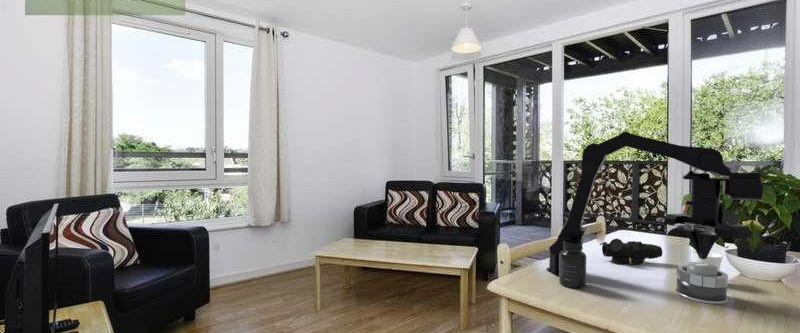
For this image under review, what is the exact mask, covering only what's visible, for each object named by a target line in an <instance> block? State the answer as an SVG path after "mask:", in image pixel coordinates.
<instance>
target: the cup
mask: <svg viewBox="0 0 800 333" xmlns="http://www.w3.org/2000/svg"><path fill="white" fill-rule="evenodd" d="M691 254H692V259H693V260H692V262H700V263H706V264H710V265H714V266H716V267H717V270H719V271H720V269H721V264H722V261H723V256H722V254H719V253H717V252H712V251H710V252H709V254H708V256H707V258H706V259H700V258H699V256H698V254H697V252H696V250H694V251H691Z"/></svg>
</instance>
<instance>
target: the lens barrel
mask: <svg viewBox="0 0 800 333" xmlns="http://www.w3.org/2000/svg"><path fill="white" fill-rule="evenodd" d="M728 286H729V275H728V274H727V273H726V272H724V271H722V270H720V269H719V270H717V276H704V275H698V274H694V273H690V272H687V264H686V265H679V266H676V287H675V294H677V295H678V296H680V297H681V298H684V299H687V300H689V301H690V300H691V301H693V302H697V303H701V304H707V305H708V304H709V305H727V303H728V300H729V299H728V297H727V296H728V295H727V294H728Z"/></svg>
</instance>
